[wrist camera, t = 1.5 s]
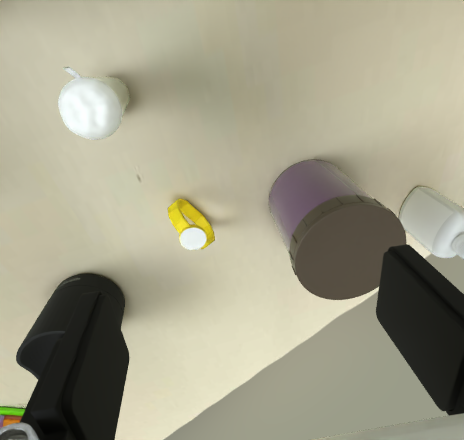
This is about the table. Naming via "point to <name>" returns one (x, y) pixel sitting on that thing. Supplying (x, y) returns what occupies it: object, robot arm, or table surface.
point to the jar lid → (344, 246)
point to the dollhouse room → (10, 416)
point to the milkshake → (93, 105)
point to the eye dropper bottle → (434, 222)
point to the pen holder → (62, 318)
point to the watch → (190, 226)
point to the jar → (306, 193)
